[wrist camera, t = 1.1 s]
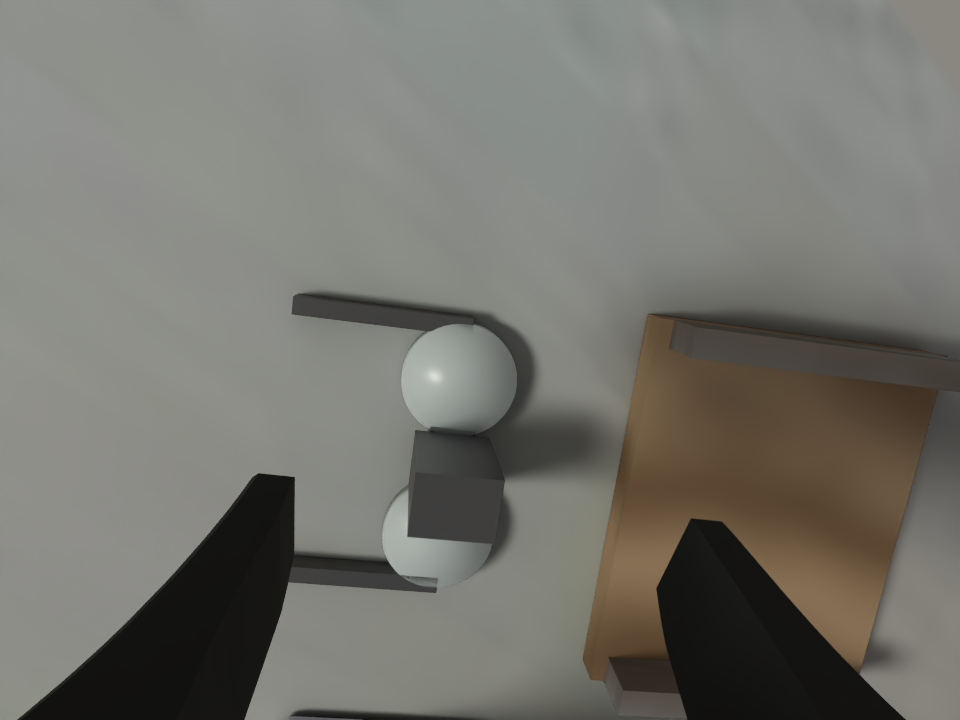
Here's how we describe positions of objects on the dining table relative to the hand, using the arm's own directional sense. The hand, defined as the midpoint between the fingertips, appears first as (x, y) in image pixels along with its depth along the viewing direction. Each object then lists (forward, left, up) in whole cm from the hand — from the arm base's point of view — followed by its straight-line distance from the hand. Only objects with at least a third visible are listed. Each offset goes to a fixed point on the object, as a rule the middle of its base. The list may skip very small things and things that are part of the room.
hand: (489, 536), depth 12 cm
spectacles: (-2, +2, -11) cm, 12 cm away
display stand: (-3, -12, -11) cm, 17 cm away
